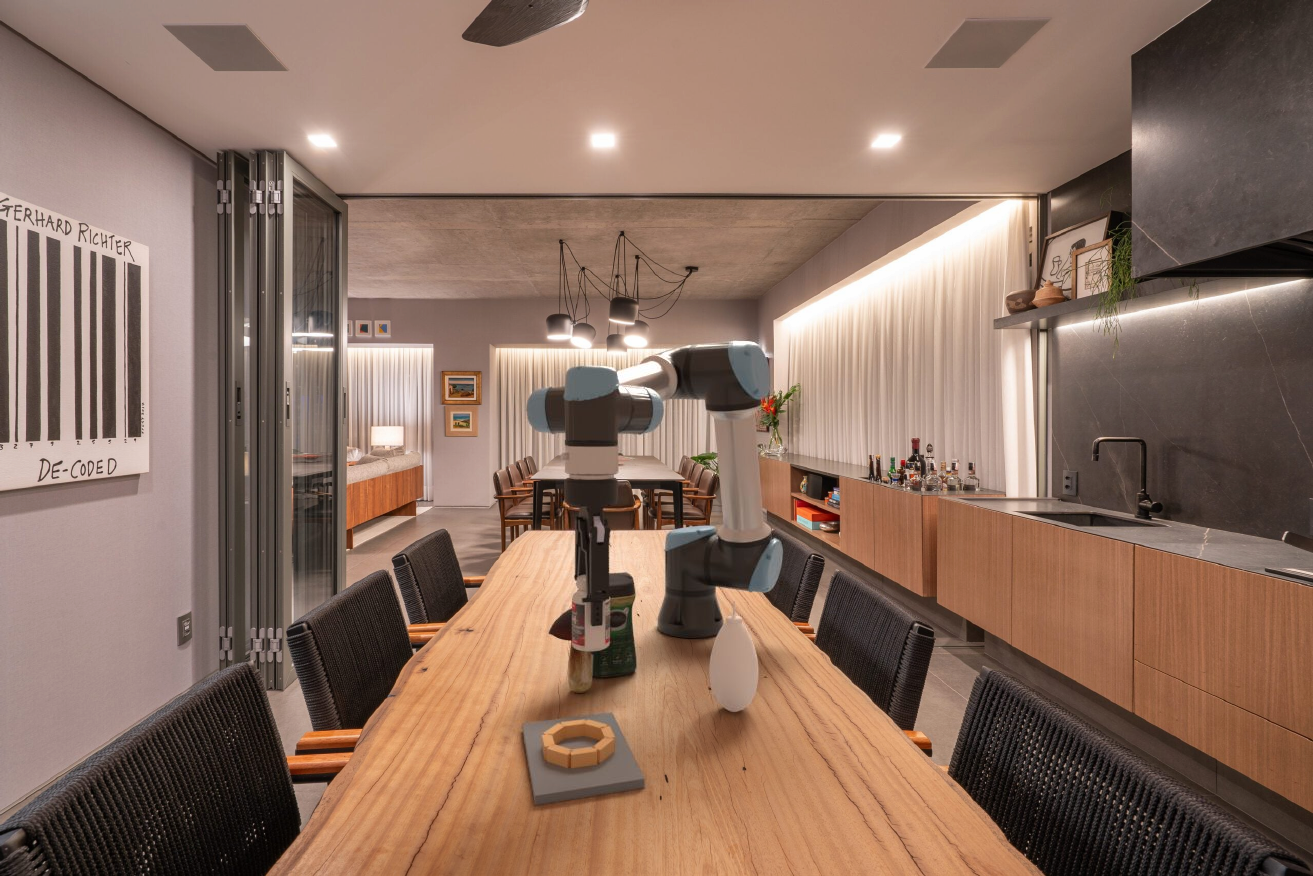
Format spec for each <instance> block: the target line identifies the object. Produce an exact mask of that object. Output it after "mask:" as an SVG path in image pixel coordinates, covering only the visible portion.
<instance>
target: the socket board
mask: <svg viewBox="0 0 1313 876" xmlns="http://www.w3.org/2000/svg"><path fill="white" fill-rule="evenodd" d="M615 717H616V716H615V715H614V713H613V712H612V711H610V712H609V711H608V712H603V713H601V712H600V713H595V714H586V715H579V716H578V715H577V716H572V717H571V716H569V717H564V718H563V717H562V718H556V719H555V718H554V719H547V720H546V719H545V720H539V721H532V722H524V723H521V727H522V728H521V729H522V730H521V732H522V736H523V737H522V738H523V743H524V748H525V749H524V750H525V755H526V761H527V765H528V772H529V778H530V785H531V789H532V790H531V791H532V795H533V802H534V806H539V805H546V804H552V803H560V802H564V801H571V800H577V799H583V798H588V797H589V798H590V797H595V796H602V795H607V794H608V795H609V794H614V793H615V794H616V793H621V792H626V791H632V790H633V791H634V790H638V789H639V790H640V789H645V788H646V787H645V786H646V785H645V781H646V779H645V776H644V774H643V772H642V770H641V769H640V766H639V764H638V763H637V760H636V758H635V756H634V754H633V751H632V750H631V748H630V746H629V744H628V742H627V739H626V738H625V736H624V734H623V732H622V730H621V727H620V725H619V723H618V722H617V720H616V718H615Z"/></svg>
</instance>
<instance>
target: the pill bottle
mask: <svg viewBox="0 0 1313 876" xmlns="http://www.w3.org/2000/svg"><path fill="white" fill-rule="evenodd" d="M576 582H577V585H576V584H575V585H576V588H577V590H578V589H579V591H575V592H574V593H573V594H572V597H571V608H572V646H573V647H574V648H575V649H577V650H581V651H599V650H603V649H605V648H607V647H608V646H609V644H610V597H609V600H606V601H605V648H595V649H585V603H582V598H586V596H587V586H586V575H581V576H578V577H577V581H576Z"/></svg>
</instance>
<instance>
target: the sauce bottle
mask: <svg viewBox="0 0 1313 876" xmlns="http://www.w3.org/2000/svg"><path fill="white" fill-rule="evenodd" d="M736 611H737V609H736V601H733V603H732V615H728V616H726V618H725V622H724V623H723V626H722V627H721V629H720V631H719V633H718V634H717V635H716V638H715V640H714V643H713V646H712V650H711V653H710V658H709V670H708V671H709V673H708V674H709V682H710V686H711V690H712V692H713V695H714V697H715V700H716V701H717V702H718V704H720V705H721V706H722V707H723V709H725V710H727V711H729V712H730V713H738V712H740V711H742V710H744V709H745V707H747V706H749V705H750V704H751V702H752V700H753V699H754V698H755V695H756V692H757V688H758V684H759V662H758V661H759V660H758V655H757V651H756V647H755V644H754V642H753V639H752V637H751V634H750V633H749V631H748V629H747V627H746V626H745V624H744V623H743V618H742V616H739V615H737V613H736Z"/></svg>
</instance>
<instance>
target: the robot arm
mask: <svg viewBox="0 0 1313 876" xmlns="http://www.w3.org/2000/svg"><path fill="white" fill-rule="evenodd" d="M769 365H770V364H769V361H768V360H767V357H766V354H765V352H764V351H763V349H762V347H761V346H760V345H759V344H758V343H756V342H753V341H745V340H741V341H739V340H732V341H731V340H730V341H719V342H711V343H710V342H708V343H699V344H698V343H694V344H691V343H690V344H686V345H681V346H677V347H674V348H672V349H667V350H665V351H661V352H659V353H655V354H653V355H649V356H647V357H645V358H643V360H642V361H641V362H640V363H639V364H636V365H632V366H630V367H625V368H622V369H619V370H617V369H616V368H614V367H612V366H606V365H605V366H604V365H577V366H572V367H570V368H568V370H566V373H565V382H564V383H565V384H564V386H559V387H558V386H557V387H553V386H547V387H544V388H538V389H535V390H534V391H533V392H532V393H531V394H530V395H529V397H528V400H527V402H526V405H525V406H526V407H525V408H526V409H525V411H526V416H527V417H526V418H527V421H528V423H529V425H530V427H532V429H534V430H535V431H536V432H539V433H546V434H547V433H549V434H551V435H556V434H564V436H565V438H564V439H565V440H564V450H565V452H562V453H560V459H561V460H563V461H564V473H565V474H566V475H568V477H566V478H565V480H564V482H563V483H564V485H563V487H564V492H563V493H564V496H563V497H564V499H563V500H564V503H565V504H566V505H567V506H571V507H578V508H579V509H578V514H575V515H574V516H573V521H574V575H573V579H574V581H575V582H576V584H575V585H577V577H578V576H581V575H586V586H587V596H586V598H582V603H585V649H595V648H605V601H606V600H609V597H610V593H609V573H610V539H611V538H610V537H611V536H610V535H611V532H612V530H611V528H610V526H609V525H608V518H606V517H605V512H604V507H606V506H607V507H610V506H614V505H616V504H617V503H618V501H619V480H617V478H616V477H615V475H617V474H618V473H619V435H639V436H640V435H643V434H649V433H652V432H653V431H655V430H656V429H657V428H658V427H659V426H660V425H661V424H662V423H661V422H662V421H663V417H664V415H665V414H664V412H665V408H664V407H665V406H664V401H667V400H696V401H697V400H699V401H700V400H703V401H704V405H705V411H706V412H707V413H708V414H709V415H711V416H712V417H713V425H714V432H715V433H714V434H715V444H716V445H715V446H716V456H717V465H718V466H717V468H718V477H719V487H720V497H721V499H720V500H721V510H722V521H723V524H722V525H721V526H720V527H719V528H718V530H717V528H716V527H715V526H714V525H697V526H696V525H695V526H686V527H681V528H675V529H672V530H670V531H668V532H667V533H666V536H665V544H664V581H665V583H664V584H665V585H664V587H665V588H664V589H665V590H664V591H665V592H664V597H663V600H662V602H661V607H660V609H659V613H658V616H657V629H658V631H659V632H661V634H664V635H667V636H670V637H675V638H683V639H702V638H708V637H713V636H717V635H718V633H719V631H720V629H721V627H722V626H723V625H724V616H723V613H722V610H721V608H720V604H719V601H718V598H717V592H716V591H717V590H716V589H717V588H724V589H728V590H729V589H731V590H738V591H744V592H749V593H753V592H754V593H768V592H770V591H771V590H773V588H774V587H775V585H776V583H777V581H778V579H779V576H780V572H781V569H782V565H783V564H782V563H783V555H784V554H783V553H784V551H783V550H784V549H783V544H782V542H781V540H779V539H778V538H776V537H774V538H773V534H772V528H771V527H770V525H768V524H767V523H766V522H764V510H763V498H762V485H761V472H760V460H759V459H760V458H759V448H758V447H759V445H758V433H757V423H756V422H757V420H756V413H757V412H758V411H759V409H761V408H762V406H763V405H762V404H763V403H762V400H763V399H765V398H766V397H767V396H768V395H769V393H770V389H771V385H770V384H771V372H770V366H769ZM577 591H579V589H578V588H577ZM577 591H576V592H577Z"/></svg>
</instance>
